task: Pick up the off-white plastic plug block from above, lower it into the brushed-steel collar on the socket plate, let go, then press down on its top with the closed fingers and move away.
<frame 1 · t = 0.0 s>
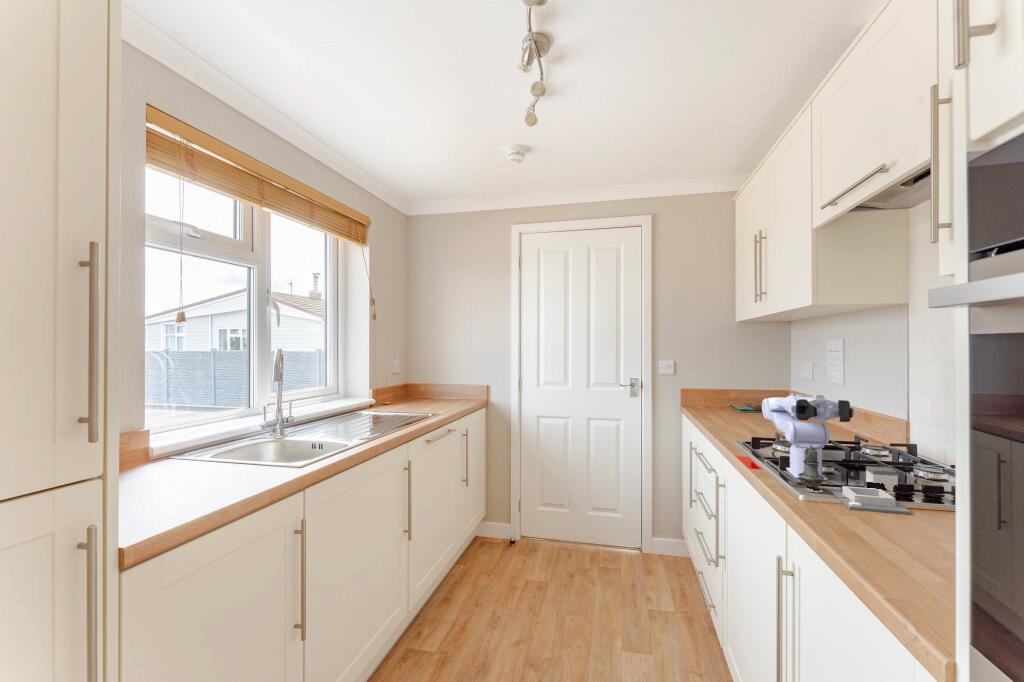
hand: (833, 412, 113), 22 cm above the worktop, tool horizontal, fingers open, 7 cm apart
socket plate: (867, 502, 111), on the worktop
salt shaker: (810, 490, 120), on the worktop
plug: (881, 491, 118), on the worktop
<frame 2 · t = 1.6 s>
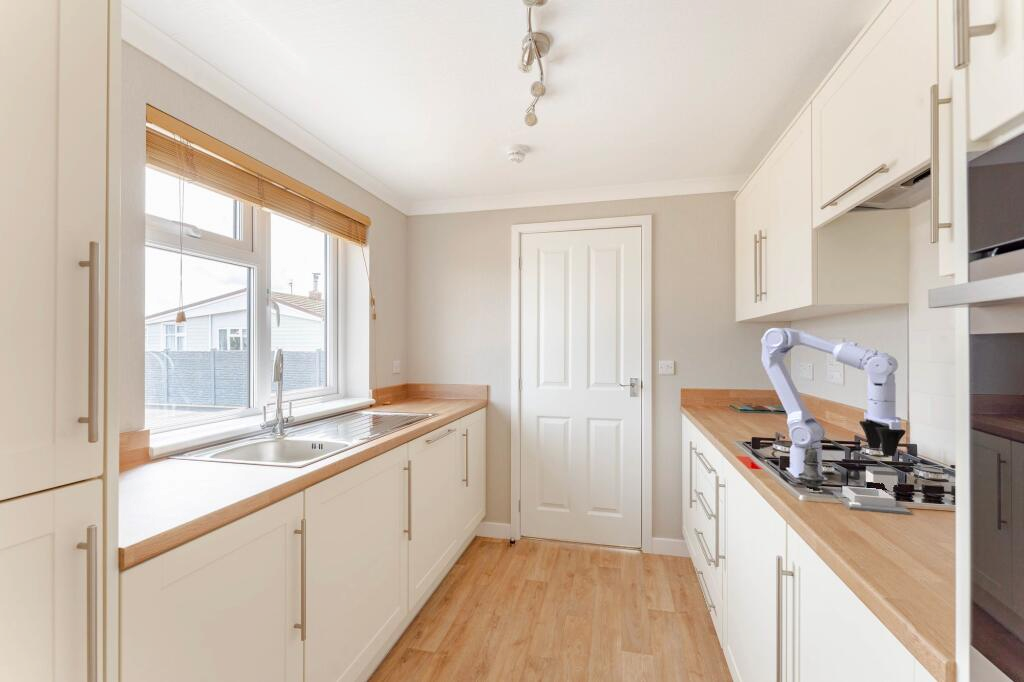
hand: (881, 451, 118), 10 cm above the worktop, tool pointing down, fingers open, 7 cm apart
nothing on the worktop moved.
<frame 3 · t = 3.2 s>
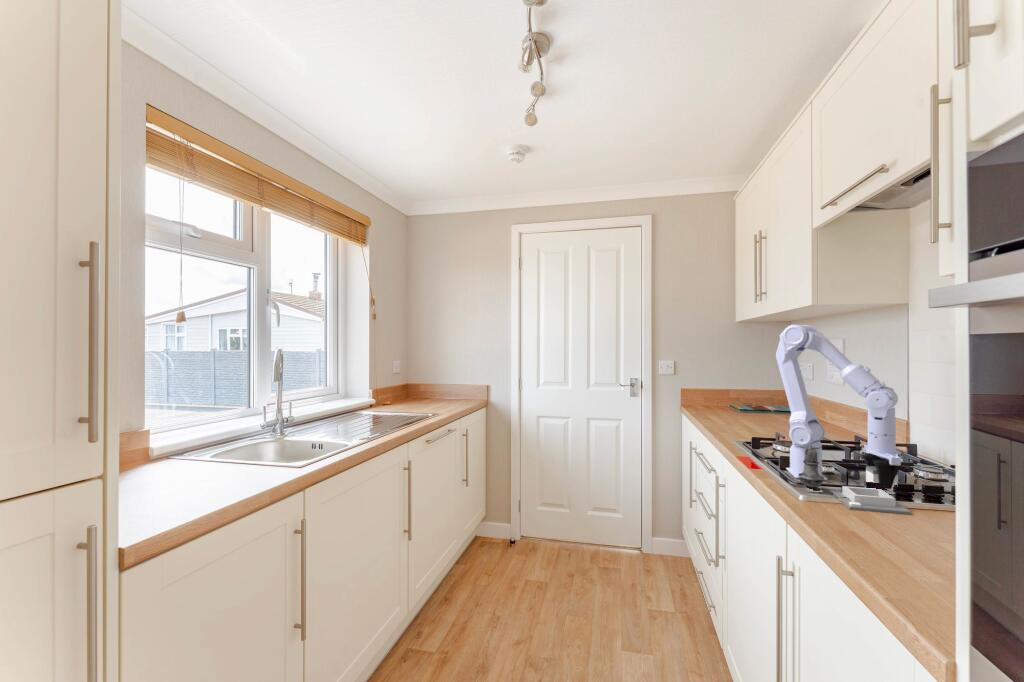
hand: (881, 485, 118), 2 cm above the worktop, tool pointing down, fingers closed on plug, 4 cm apart
plug: (881, 491, 118), on the worktop, touching gripper
everything else where it was.
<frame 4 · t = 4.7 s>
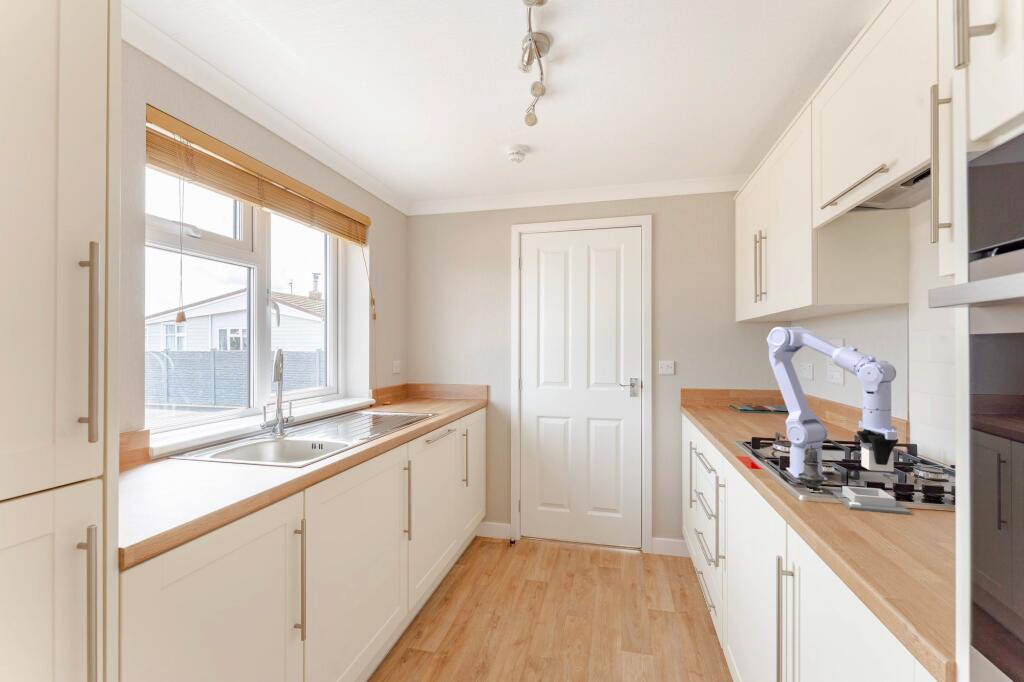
hand: (876, 461, 115), 9 cm above the worktop, tool pointing down, fingers closed on plug, 4 cm apart
plug: (877, 468, 115), point 7 cm above the worktop, touching gripper
everything else where it was.
when the fingers open (3 cm above the worktop, at t = 6.5 s): plug drops 1 cm, resting on socket plate.
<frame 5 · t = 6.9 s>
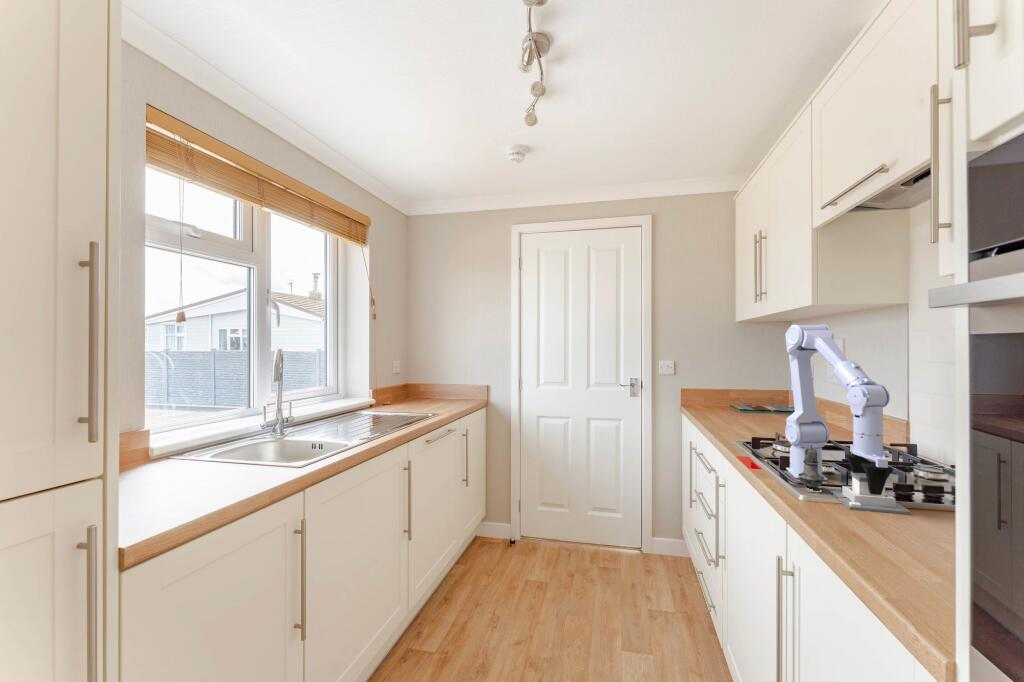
hand: (867, 488, 111), 3 cm above the worktop, tool pointing down, fingers open, 7 cm apart
plug: (868, 500, 111), point 1 cm above the worktop, touching socket plate
everything else where it was.
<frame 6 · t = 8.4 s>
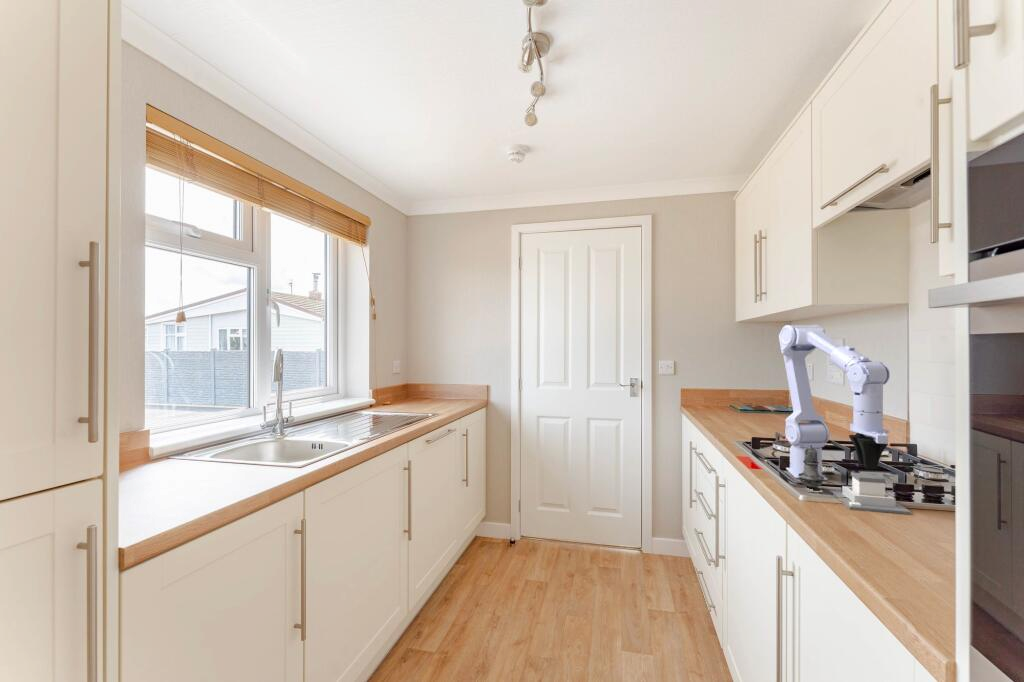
hand: (867, 466, 111), 9 cm above the worktop, tool pointing down, fingers closed
nothing on the worktop moved.
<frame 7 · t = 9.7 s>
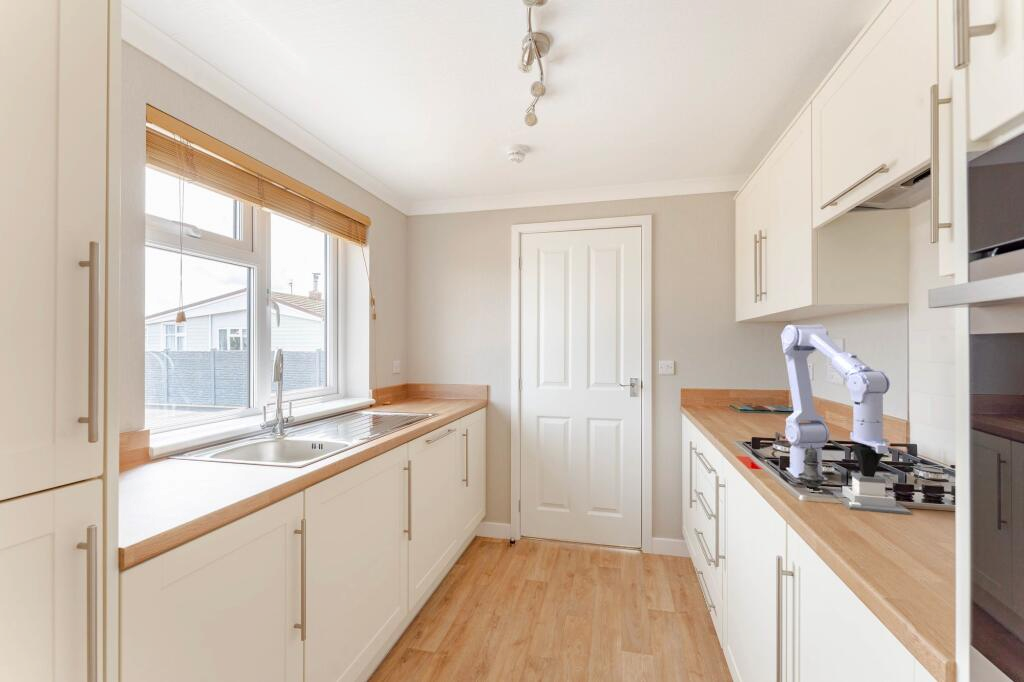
hand: (867, 475, 111), 7 cm above the worktop, tool pointing down, fingers closed
nothing on the worktop moved.
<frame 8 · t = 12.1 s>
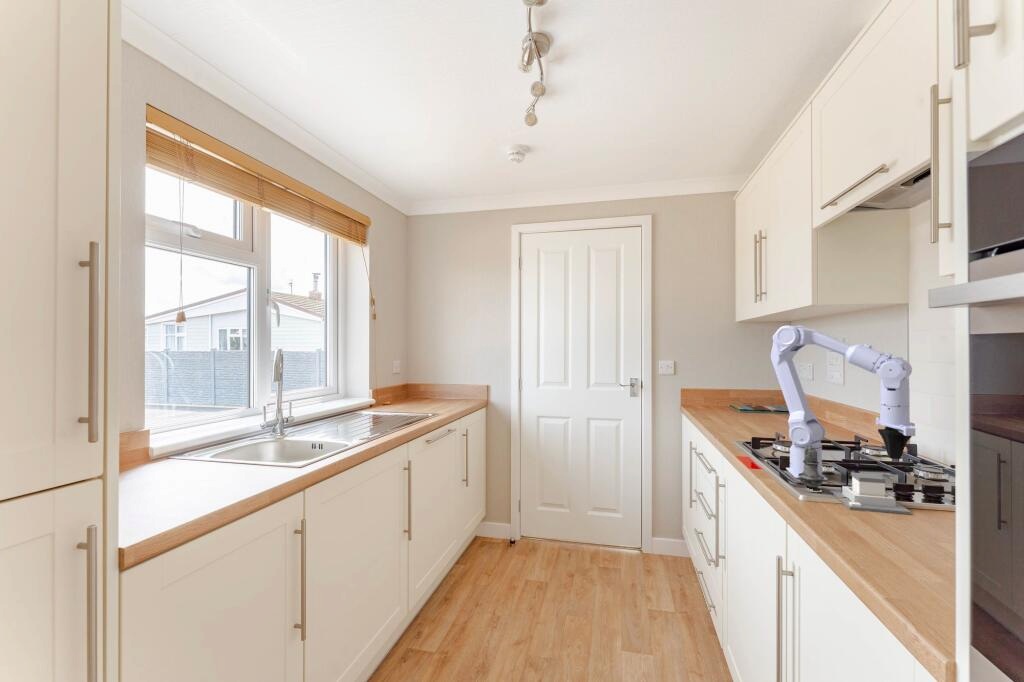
hand: (894, 458, 116), 9 cm above the worktop, tool pointing down, fingers closed
nothing on the worktop moved.
at the end: plug 0.1 cm off-centre on the socket plate, point 0.6 cm above the socket plate's base; plug tilted 0°; the gripper is holding nothing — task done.
